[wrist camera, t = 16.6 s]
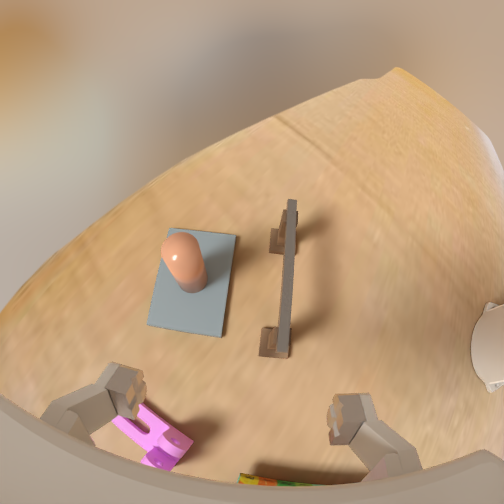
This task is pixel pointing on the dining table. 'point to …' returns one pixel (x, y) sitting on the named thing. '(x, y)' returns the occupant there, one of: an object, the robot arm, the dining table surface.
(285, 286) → the metal bar
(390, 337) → the dining table surface
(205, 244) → the pad
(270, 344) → the hurdle posts
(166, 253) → the terracotta cylinder
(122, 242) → the dining table surface
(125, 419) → the bracket
